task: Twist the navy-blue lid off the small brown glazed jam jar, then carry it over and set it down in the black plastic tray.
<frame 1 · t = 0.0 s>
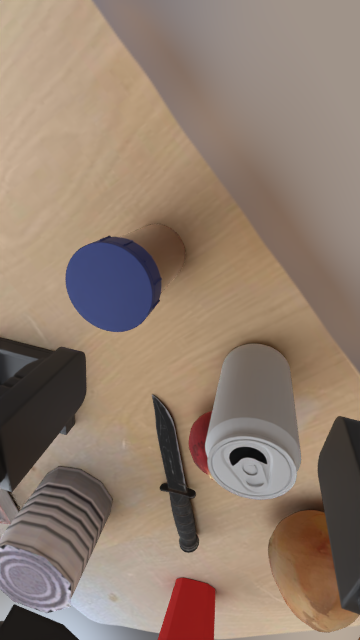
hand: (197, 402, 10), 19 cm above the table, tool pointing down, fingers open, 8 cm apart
french fries: (194, 585, 50), on the table
can: (79, 492, 47), on the table
knife: (176, 470, 40), on the table
onion: (222, 414, 34), on the table
beverage can: (255, 367, 31), on the table
jar: (157, 253, 28), on the table
lid: (110, 287, 20), point 10 cm above the table, screwed on, not yet turned
onion 2: (311, 517, 37), on the table
tray: (35, 381, 39), on the table
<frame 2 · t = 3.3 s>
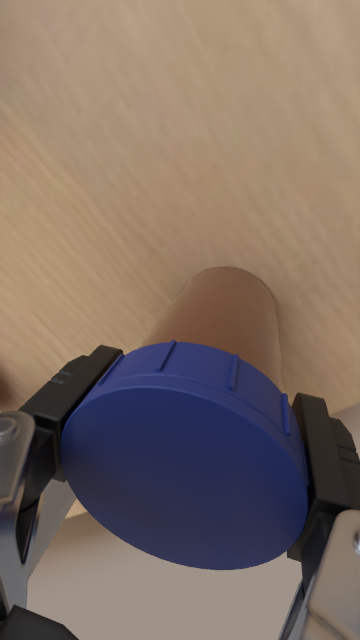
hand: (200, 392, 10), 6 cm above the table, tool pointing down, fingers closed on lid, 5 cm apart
beverage can: (70, 422, 23), on the table
jar: (224, 316, 16), on the table
lid: (177, 476, 7), point 10 cm above the table, screwed on, not yet turned, touching gripper
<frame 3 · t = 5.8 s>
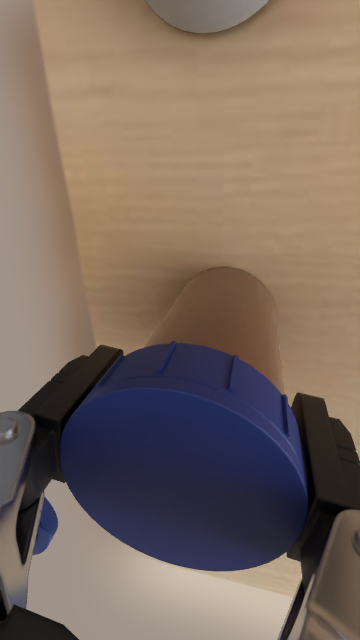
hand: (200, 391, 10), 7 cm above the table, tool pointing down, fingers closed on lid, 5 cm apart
jar: (224, 315, 16), on the table
lid: (176, 477, 7), point 10 cm above the table, off its thread, touching gripper
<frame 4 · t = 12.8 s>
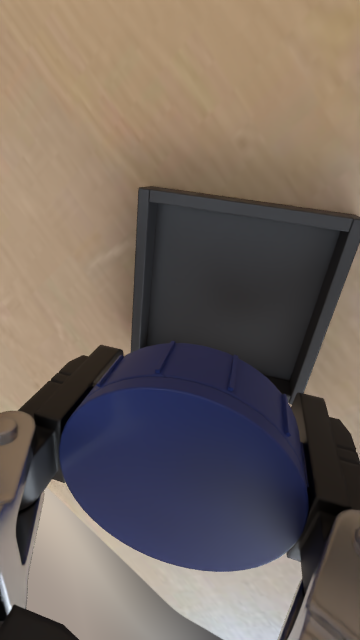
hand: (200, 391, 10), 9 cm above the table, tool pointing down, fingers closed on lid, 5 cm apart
lid: (176, 478, 7), point 13 cm above the table, off its thread, touching gripper
tray: (229, 294, 19), on the table
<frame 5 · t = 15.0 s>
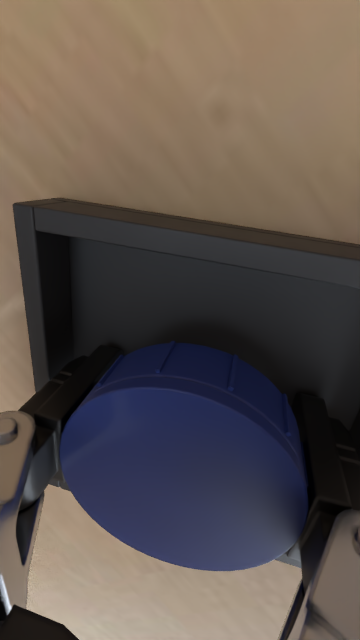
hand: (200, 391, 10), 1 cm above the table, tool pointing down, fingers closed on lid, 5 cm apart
lid: (176, 477, 7), point 4 cm above the table, off its thread, touching gripper
tray: (204, 380, 11), on the table
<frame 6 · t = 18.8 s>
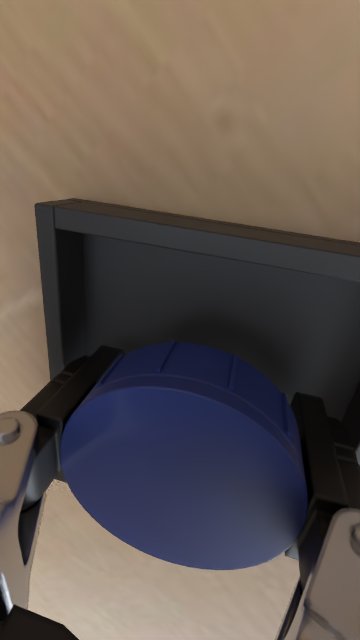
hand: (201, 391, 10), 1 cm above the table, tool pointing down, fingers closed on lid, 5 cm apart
lid: (177, 476, 7), point 5 cm above the table, off its thread, touching gripper
tray: (208, 370, 12), on the table
when the fingers open (1 cm above the table, at t = 22.2 s): lid drops 2 cm, resting on tray.
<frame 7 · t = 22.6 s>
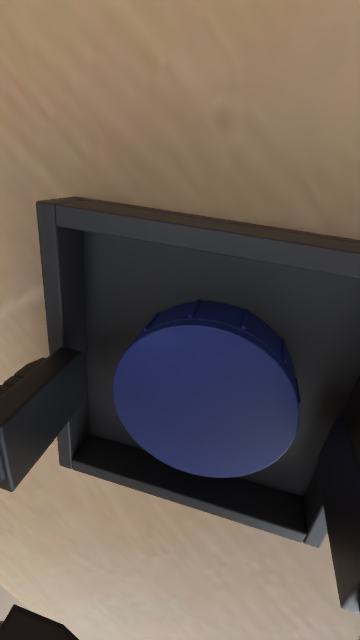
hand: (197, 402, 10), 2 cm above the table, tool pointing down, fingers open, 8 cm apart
lid: (201, 402, 10), point 2 cm above the table, off its thread, touching tray
tray: (208, 367, 12), on the table
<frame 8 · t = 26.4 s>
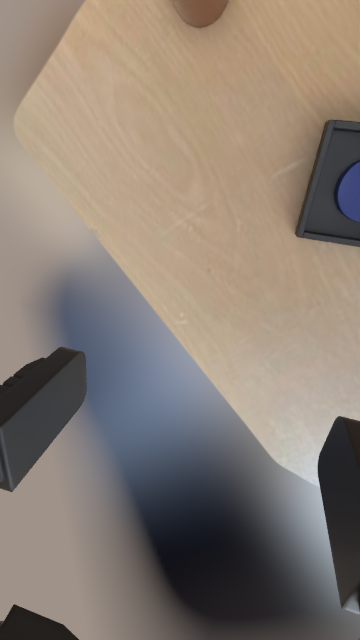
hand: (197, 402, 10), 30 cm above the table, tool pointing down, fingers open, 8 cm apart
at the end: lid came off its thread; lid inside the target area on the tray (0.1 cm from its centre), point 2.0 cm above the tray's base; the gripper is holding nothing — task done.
